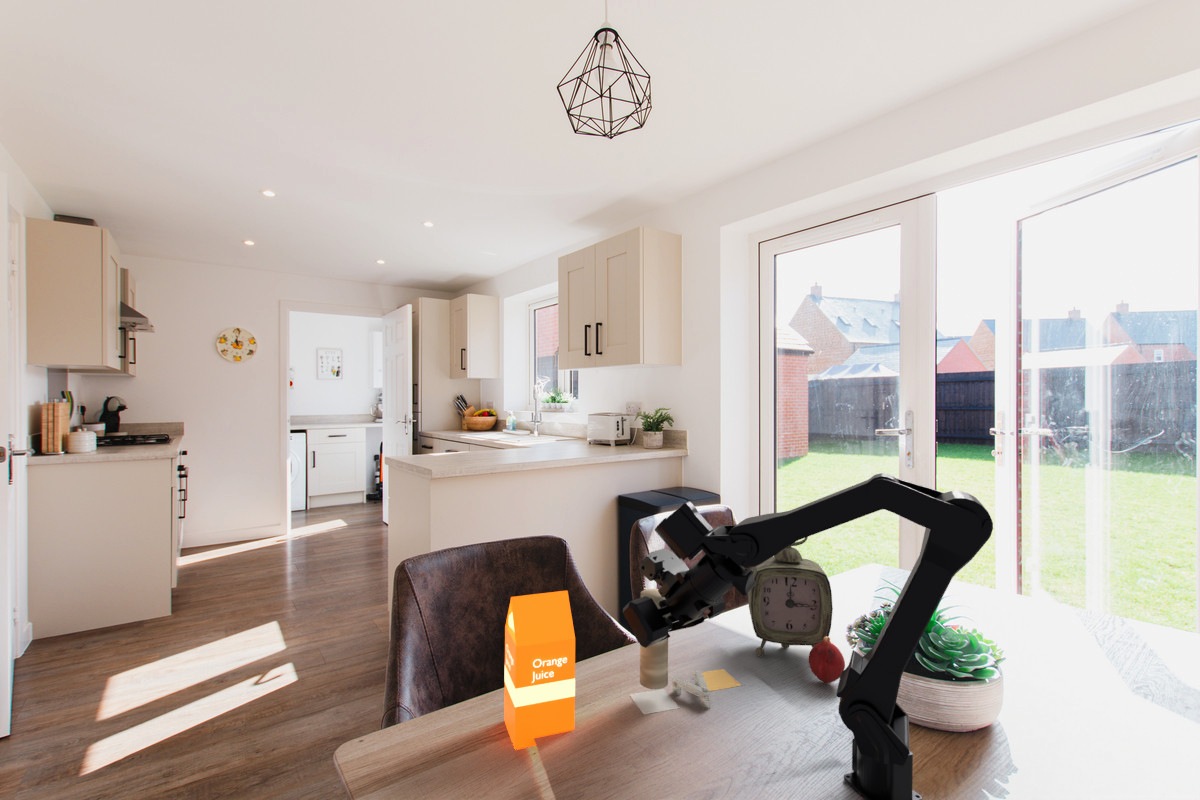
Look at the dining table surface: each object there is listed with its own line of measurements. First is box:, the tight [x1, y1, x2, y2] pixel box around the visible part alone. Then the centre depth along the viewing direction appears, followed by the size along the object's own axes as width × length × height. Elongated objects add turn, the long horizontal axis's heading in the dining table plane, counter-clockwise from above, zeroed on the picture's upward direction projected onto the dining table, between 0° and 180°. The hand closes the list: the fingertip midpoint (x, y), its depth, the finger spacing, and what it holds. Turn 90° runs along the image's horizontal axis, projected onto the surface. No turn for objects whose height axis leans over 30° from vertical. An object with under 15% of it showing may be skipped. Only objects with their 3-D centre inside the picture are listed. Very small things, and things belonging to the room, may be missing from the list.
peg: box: [639, 588, 669, 690], centre depth 89 cm, size 4×4×14 cm
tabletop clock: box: [747, 536, 834, 657], centre depth 109 cm, size 14×9×25 cm, turn 80°
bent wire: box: [671, 669, 712, 711], centre depth 90 cm, size 7×6×2 cm
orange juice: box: [503, 590, 576, 751], centre depth 83 cm, size 8×9×20 cm
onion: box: [807, 636, 846, 685], centre depth 97 cm, size 6×6×8 cm
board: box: [628, 668, 742, 716], centre depth 90 cm, size 14×20×1 cm
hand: (647, 635), depth 90 cm, fingers closed on peg, 4 cm apart
